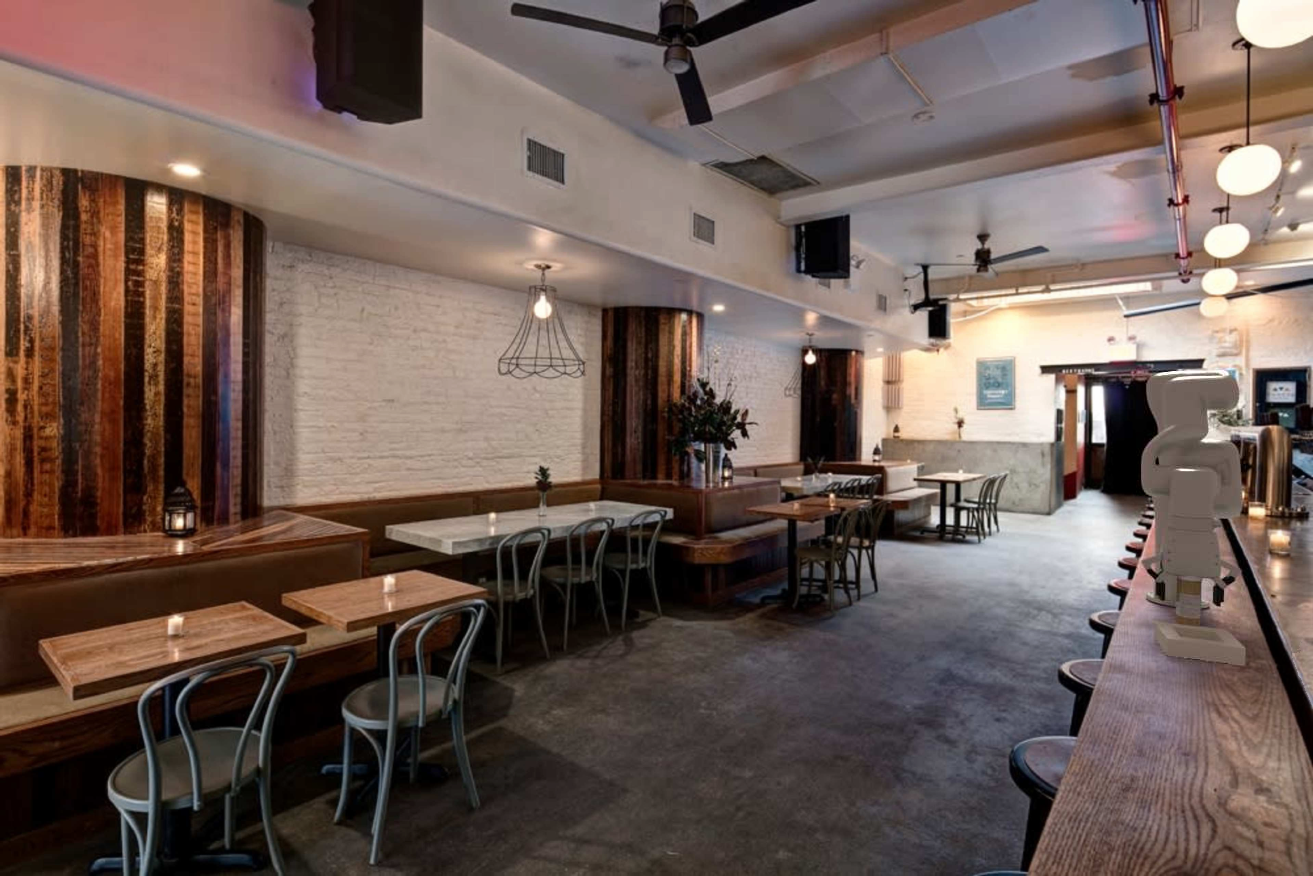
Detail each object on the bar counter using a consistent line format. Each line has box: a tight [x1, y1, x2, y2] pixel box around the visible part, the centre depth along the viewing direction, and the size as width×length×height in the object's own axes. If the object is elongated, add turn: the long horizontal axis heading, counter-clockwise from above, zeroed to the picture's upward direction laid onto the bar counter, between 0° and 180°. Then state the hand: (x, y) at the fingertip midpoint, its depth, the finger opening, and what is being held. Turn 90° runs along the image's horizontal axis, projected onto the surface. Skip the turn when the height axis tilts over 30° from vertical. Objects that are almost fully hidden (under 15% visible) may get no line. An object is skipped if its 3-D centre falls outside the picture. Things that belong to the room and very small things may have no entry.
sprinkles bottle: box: [1175, 576, 1204, 627], centre depth 146 cm, size 5×5×13 cm
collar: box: [1153, 621, 1247, 667], centre depth 134 cm, size 12×12×4 cm
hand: (1188, 602), depth 146 cm, fingers open, 9 cm apart
